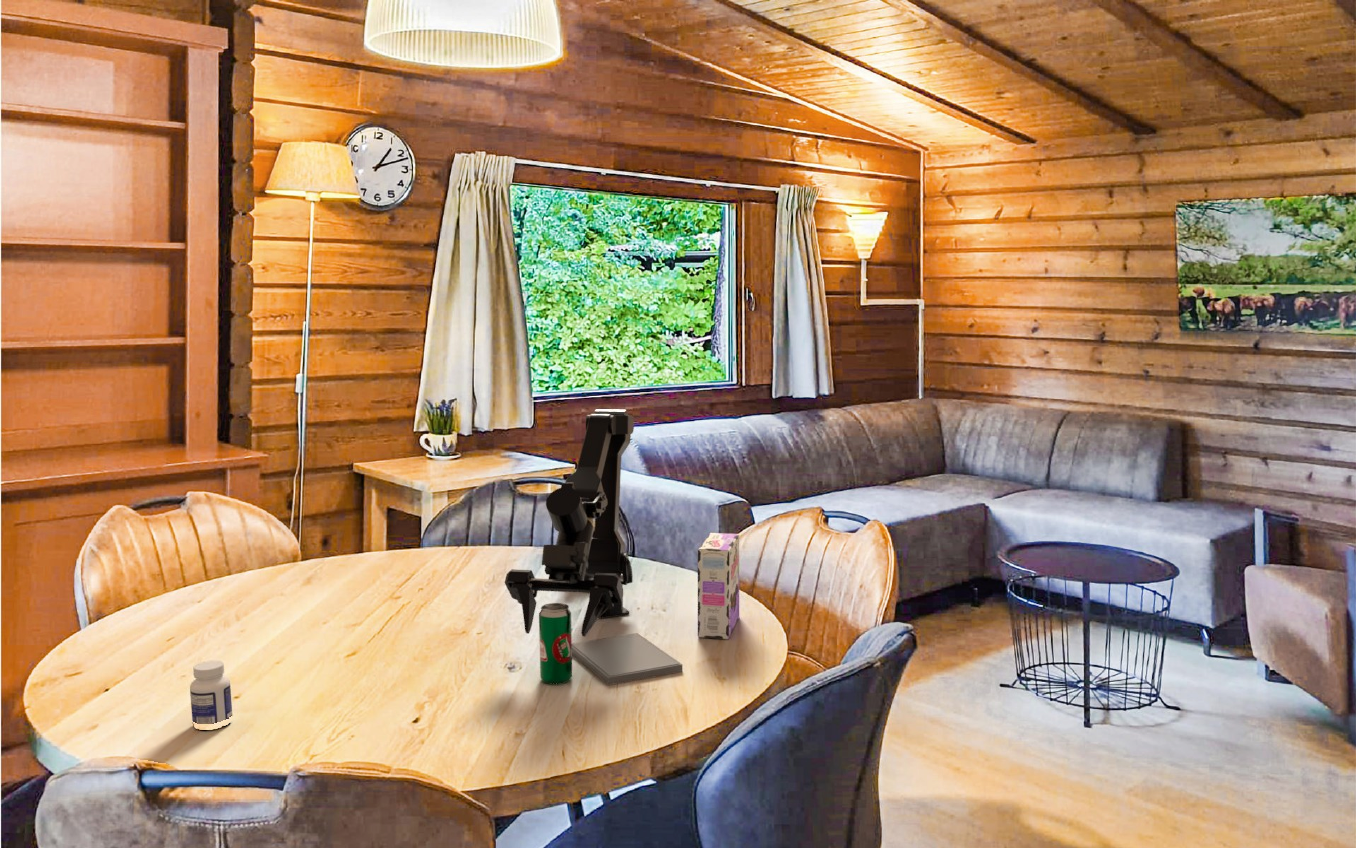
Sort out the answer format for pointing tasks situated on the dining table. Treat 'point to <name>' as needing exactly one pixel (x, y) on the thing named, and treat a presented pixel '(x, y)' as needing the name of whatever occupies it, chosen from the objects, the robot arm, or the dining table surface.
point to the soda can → (555, 643)
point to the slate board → (624, 658)
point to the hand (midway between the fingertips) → (554, 633)
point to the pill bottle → (210, 693)
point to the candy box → (718, 585)
